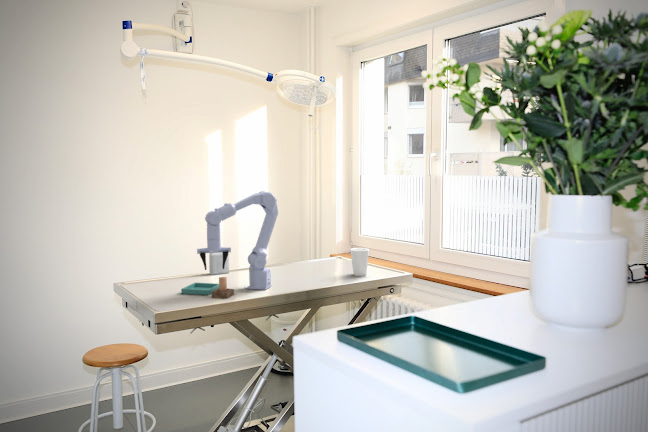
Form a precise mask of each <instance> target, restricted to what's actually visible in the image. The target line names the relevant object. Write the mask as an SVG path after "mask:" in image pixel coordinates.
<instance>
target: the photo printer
mask: <svg viewBox="0 0 648 432" xmlns="http://www.w3.org/2000/svg"><path fill="white" fill-rule="evenodd" d="M211 252H214V251H211ZM208 254H209V255H208V257H209V258H208V260H209V262H208V263H209V266H208V267H209V270H208V271H209V275H210V276H212V275H213V276H214V275H223V274H229V273H230V262H229V261H230V257H229V255H230V252H228V257H227V259H226V262H225V266H224V269H223V267H222V265H223V252H222V253H208Z"/></svg>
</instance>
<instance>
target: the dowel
mask: <svg viewBox="0 0 648 432" xmlns="http://www.w3.org/2000/svg"><path fill="white" fill-rule="evenodd" d="M227 279H228V278H227V276H221V277H220V276H219V277H218V284H219V291H221V292H226V291H227V289H228V285H227V281H228V280H227Z"/></svg>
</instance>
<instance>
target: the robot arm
mask: <svg viewBox="0 0 648 432" xmlns="http://www.w3.org/2000/svg"><path fill="white" fill-rule="evenodd" d="M251 205H259V206H260V207H262V209H263V210H264V213H265V217H264V220H263V222H262V226H261V229H260V232H259V234H258V237H257V240H256V243H255V245H254V247H253V248H252V251H251V252H250V254H248V257H247V262H248V264H249V267H248V268H249V270H248V271H249V275H248V276H249V277H248V278H249V279H248V280H249V286H246V289H248V290H265V291H266V290H267V289H269V288H271V287H272V273H271V269H270V268H266V266H267V256H268V252H267V249H268V246H269V243H270V240H271V237H272V234H273V231H274V228H275V224H276V221H277V217H278V215H279V209H278V204H277V198H276V196H275V195H274V194H273V192H270V191H269V192H266V191H264V190H261V191H259V192H257V193H254V194H251V195H249V196H247V197H245V198H243V199H242V200H240V201H238V202H236V203H234V204H233V203H228V202H226V203H224V204H223V206H220V207H219V208H214V209H213V210H210V211H208V212H207V213H206V214H205V217H204V220H205V222H206V244H207V245H206V247H205V248H203V247H202V248H197V249H196V251H197V252H196V253H197V254H198V255H199V257H200V259H201V261H202V263H203V266H204V271H206V270H207V259H206V257H207V256H206V254H210V253H222V252H223V265H222V267H223V269H224V266H225V262H226V259H227V257H228V253H232V248H231V247H222V246H221V225H220V223H221V222H224V221H225V220H227V219H230V218H231V217H233V216H235V215H236V213H237V211H240V210H242V209H245V208H247V207H249V206H251ZM212 251H214V252H212Z"/></svg>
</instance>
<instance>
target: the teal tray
mask: <svg viewBox="0 0 648 432" xmlns="http://www.w3.org/2000/svg"><path fill="white" fill-rule="evenodd" d="M218 288H219V283H213V282H212V283H211V282H193V283H191V284H189V285H187V286H185V287H182V288H181V290H180V292H181V295H194V296H196V295H197V296H210V295H212V292H213V291H214V290H216V289H218Z"/></svg>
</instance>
